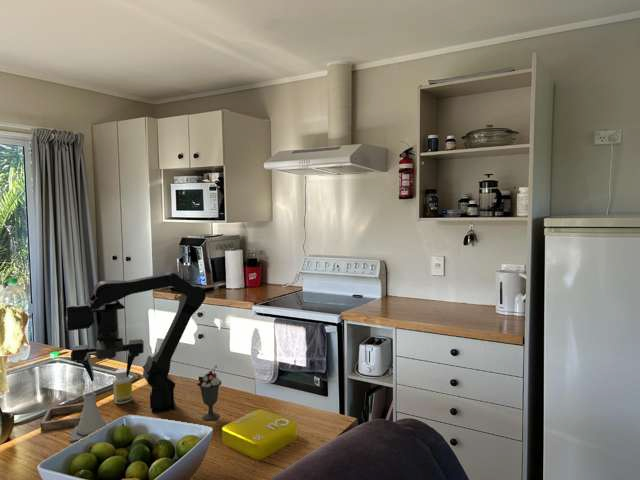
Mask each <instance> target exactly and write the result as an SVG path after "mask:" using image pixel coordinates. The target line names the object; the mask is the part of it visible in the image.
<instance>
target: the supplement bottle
mask: <svg viewBox="0 0 640 480" xmlns="http://www.w3.org/2000/svg"><path fill="white" fill-rule="evenodd" d="M126 372H127V368H119V369H116V370H115V371H114V376H115V377H114V378H113V380H112V386H113V390H112V391H113V392H112V393H113V402H114V404H117V405H120V404H122V405H123V404H126V403H129V402H131V401H132V400H133V387H132V386H133V385H132V384H133V383H132V376H130V375H129V376H128V377H127V373H126Z"/></svg>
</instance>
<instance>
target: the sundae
mask: <svg viewBox="0 0 640 480" xmlns="http://www.w3.org/2000/svg"><path fill="white" fill-rule="evenodd" d="M216 368H218V366H217V365H215V366H214V367H213V368H212V370H210V371H208V373H205V375H204V376H203V377H202V376H198V377H197V378H198V380H199V383H198V382H197V387H199V388H200V393H201V397H202V401H203V404H204V405H206V406H207V407H208V408H207V409H208V411H207V413H206V414H204V415H202V418H201V419H202V420H203V421H207V422H212V421H216V420H218V419H219V418H220V414H219V413H218V412H214V409H213V406H215V404H216V403H218V402H217V401H218V398H219V389H220V386H221V385H222V380H220V379H219V377H217V373H216V372H215V370H216Z"/></svg>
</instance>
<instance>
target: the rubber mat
mask: <svg viewBox="0 0 640 480" xmlns="http://www.w3.org/2000/svg"><path fill="white" fill-rule="evenodd" d="M104 421H105V423H106V424H108V423H110V424H111V420H104ZM77 428H78V425H74V428H73V431H72V433H71V436H70V439H69V443H73V442H79V441H78V440H80V439H82V438H84V437H86V436H88V435H81V434H78V433H76V431H77ZM80 441H81V440H80Z"/></svg>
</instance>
